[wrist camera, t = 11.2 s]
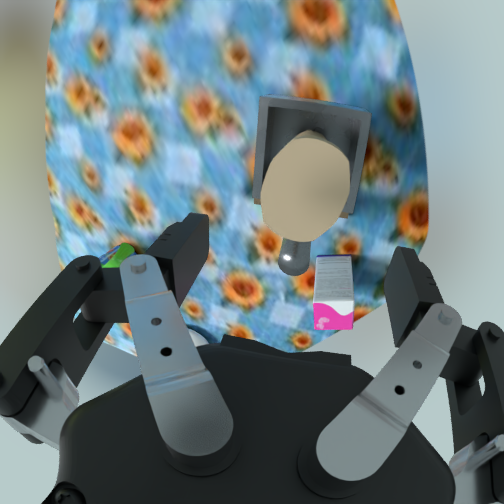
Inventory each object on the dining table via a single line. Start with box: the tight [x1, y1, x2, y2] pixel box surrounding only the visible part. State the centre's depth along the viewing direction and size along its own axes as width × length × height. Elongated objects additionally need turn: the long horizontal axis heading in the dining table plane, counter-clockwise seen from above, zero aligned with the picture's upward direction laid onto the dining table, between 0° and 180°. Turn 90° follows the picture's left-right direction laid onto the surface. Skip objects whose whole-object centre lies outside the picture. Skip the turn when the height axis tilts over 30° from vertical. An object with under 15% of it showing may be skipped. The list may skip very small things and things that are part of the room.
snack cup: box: [99, 243, 137, 268], centre depth 54 cm, size 16×10×10 cm
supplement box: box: [313, 254, 354, 330], centre depth 45 cm, size 6×6×12 cm
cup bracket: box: [252, 94, 372, 276], centre depth 33 cm, size 17×14×18 cm
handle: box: [261, 130, 350, 242], centre depth 23 cm, size 5×6×15 cm
